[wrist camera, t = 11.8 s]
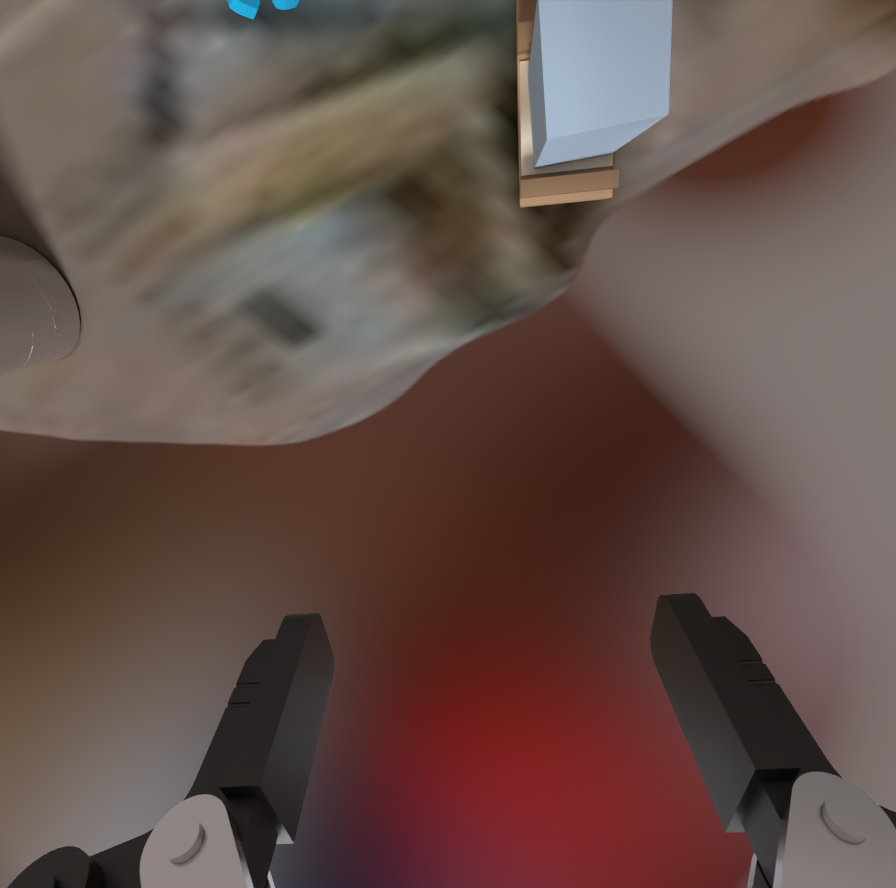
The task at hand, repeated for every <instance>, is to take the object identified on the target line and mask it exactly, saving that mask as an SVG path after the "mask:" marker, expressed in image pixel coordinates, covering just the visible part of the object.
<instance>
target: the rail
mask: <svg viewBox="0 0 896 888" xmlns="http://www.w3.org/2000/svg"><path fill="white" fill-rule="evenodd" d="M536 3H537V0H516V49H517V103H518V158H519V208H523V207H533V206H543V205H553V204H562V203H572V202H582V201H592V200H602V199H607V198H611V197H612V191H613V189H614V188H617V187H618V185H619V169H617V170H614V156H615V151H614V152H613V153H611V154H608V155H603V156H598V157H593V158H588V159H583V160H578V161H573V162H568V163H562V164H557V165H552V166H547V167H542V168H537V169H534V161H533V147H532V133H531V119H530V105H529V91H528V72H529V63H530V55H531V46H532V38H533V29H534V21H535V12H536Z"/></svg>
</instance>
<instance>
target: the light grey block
mask: <svg viewBox="0 0 896 888" xmlns="http://www.w3.org/2000/svg"><path fill="white" fill-rule="evenodd" d="M671 27H672V0H537V3H536V12H535V21H534V29H533V38H532V46H531V55H530V63H529V72H528V91H529V105H530V119H531V133H532V147H533V161H534V169H537V168H542V167H547V166H552V165H557V164H562V163H568V162H573V161H578V160H583V159H588V158H593V157H598V156H603V155H608V154H611V153H613V152H614V151H616V150H617V149H619V148H620V147H622V146H623V145H624V144H626V143H627V142H629V141H630V140H632V139H633V138H635V137H636V136H638V135H639V134H641V133H642V132H643V131H645V130H646V129H648V128H649V127H651V126H652V125H654V124H655V123H657V122H658V121H660V120H661V119H662V118H664V117H665V116H667V115H668V114H669V87H670V57H671Z"/></svg>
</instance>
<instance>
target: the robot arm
mask: <svg viewBox="0 0 896 888" xmlns="http://www.w3.org/2000/svg"><path fill="white" fill-rule="evenodd" d="M79 333H80V319H79V312H78V308H77V305H76V302H75V299H74V297H73V295H72V293H71V291H70V289H69V287H68V285H67V283H66V282H65V281H64V279H63V278H62V276H61V275H60V274H59V272H58V271H57V270H56V269H55V268H54V267H53V266H52V265H51V263H50V262H49V261H48V260H47V259H45V258H44V257H43V256H42V255H40V254H39V253H38V252H37V251H35V250H34V249H32V248H31V247H29V246H27V245H25V244H24V243H22V242H19V241H17V240H14V239H11V238H8V237H1V236H0V377H2V376H6V375H9V374H13V373H16V372H19V371H23V370H26V369H29V368H32V367H36V366H39V365H42V364H45V363H48V362H52V361H55V360H58V359H61V358H63V357H65V356H66V355H68V354H69V353H70V352H71V351H72V350H73V348H74V347H75V346H76V343H77V341H78V338H79ZM650 647H651V653H652V657H653V661H654V664H655V666H656V669H657V671H658V674H659V676H660V678H661V680H662V683H663V685H664V688H665V690H666V693H667V695H668V697H669V700H670V702H671V704H672V707H673V709H674V712H675V714H676V716H677V719H678V721H679V724H680V726H681V728H682V731H683V733H684V735H685V738H686V740H687V742H688V745H689V747H690V750H691V752H692V754H693V757H694V759H695V762H696V764H697V766H698V769H699V771H700V773H701V776H702V778H703V780H704V783H705V785H706V788H707V790H708V792H709V795H710V797H711V799H712V802H713V804H714V807H715V809H716V811H717V814H718V816H719V819H720V821H721V823H722V826H723V828H724V831H725V832H746V835H747V837H748V839H749V841H750V843H751V846H752V848H753V850H754V854H753V857H752V863H751V870H750V875H749V881H748V887H747V888H896V812H894V811H891V810H888V809H886V808H884V807H882V806H880V805H878V804H877V803H876V802H875V801H874V800H873V799H872V798H871V797H870V796H868V795H867V794H866V793H865V792H864V791H862V790H861V789H860V788H858V787H857V786H855V785H853V784H852V783H850V782H849V781H847V780H845V779H843V778H842V777H841V776H840V775H839V774H838V773H837V771H836V770H835V769H834V768H833V767H832V765H831V764H830V763H829V761H828V760H827V759H826V757H825V755H824V754H823V752H822V751H821V749H820V748H819V746H818V745H817V743H816V741H815V740H814V738H813V737H812V735H811V734H810V732H809V731H808V730H807V728H806V726H805V724H804V723H803V721H802V720H801V718H800V717H799V715H798V714H797V712H796V711H795V709H794V707H793V706H792V704H791V703H790V701H789V700H788V699H787V697H786V695H785V694H784V692H783V691H782V689H781V687H780V686H779V684H776V682H775V678H774V677H773V675H772V674H771V672H770V671H769V669H768V668H767V666H766V664H763V662H762V658H761V657H760V655H759V654H758V652H757V650H756V649H755V647H754V646H753V644H752V643H751V641H750V640H749V638H748V637H747V636H746V635H745V634H744V633H743V632H742V631H741V630H740V629H738V628H737V627H736V626H735V625H734V624H733V623H732V622H730V621H729V620H728V619H727V618H726V617H725V616H723V617H711V615H710V614H709V612H708V610H707V609H706V607H705V605H704V604H703V602H702V600H701V599H700V598H699V596H698V595H696V594H695V593H686V594H668V595H660V596H659V597H658V600H657V605H656V610H655V615H654V620H653V625H652V630H651V635H650ZM333 674H334V655H333V650H332V648H331V644H330V642H329V638H328V635H327V632H326V630H325V627H324V624H323V621H322V618H321V616H320V614H319V613H309V614H293V615H287V616H285V618H284V619H283V621H282V623H281V626H280V628H279V631H278V634H277V636H276V639H273V640H272V639H271V640H263V641H262V642H261V643H260V644H259V646H258V647H257V648H256V649H255V650H254V652H253V653H252V654H251V655H250V656H249V658H248V659H247V660H246V662H245V664H244V667H243V669H242V671H241V674H240V676H239V678H238V681H237V683H236V685H237V686H236V688H234V690H233V693H232V695H231V697H230V699H229V702H228V707H227V708H226V709H225V711H224V714H223V716H222V718H221V721H220V723H219V725H218V728H217V730H216V732H215V735H214V737H213V740H212V742H211V744H210V746H209V749H208V751H207V753H206V756H205V758H204V760H203V763H202V765H201V768H200V770H199V772H198V774H197V777H196V779H195V782H194V784H193V786H192V788H191V790H190V791H189V793H188V794H187V796H186V798H185V799H184V800H183V801H182V802H181V803H179V804H178V805H176V806H175V807H174V808H172V809H171V810H170V811H169V812H168V813H167V814H166V815H165V816H164V817H163V818H162V819H161V820H160V822H159V823H158V824H157V826H156V827H155V828H154V829H152V830H151V831H149V832H147V833H145V834H143V835H141V836H139V837H136V838H134V839H131V840H129V841H127V842H124V843H122V844H119V845H117V846H114V847H112V848H110V849H107V850H105V851H102V852H100V853H97V854H95V855H93V856H88V855H87V854H86V853H85V852H84V851H82V850H81V849H80V848H77V847H73V846H72V847H71V846H67V847H62V848H58V849H56V850H53V851H51V852H49V853H47V854H45V855H43V856H42V857H40V858H39V859H37V860H36V861H34V862H33V863H32V864H31V865H29V866H28V867H27V868H26V869H25V870H24V871H22V872H21V873H20V874H19V875H18V876H17V877H16V879H15V880H14V881H13V882H12V883H11V884H10V885H9V886H8V888H275V886H274V883H273V880H272V877H271V873H270V871H269V869H270V865H271V861H272V857H273V853H274V850H275V846H276V844H292V843H294V840H295V836H296V832H297V827H298V823H299V819H300V815H301V811H302V807H303V802H304V798H305V794H306V790H307V786H308V781H309V777H310V773H311V769H312V764H313V760H314V756H315V752H316V748H317V743H318V739H319V735H320V731H321V727H322V722H323V718H324V714H325V710H326V705H327V701H328V697H329V693H330V688H331V684H332V680H333Z"/></svg>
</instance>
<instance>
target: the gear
mask: <svg viewBox="0 0 896 888" xmlns="http://www.w3.org/2000/svg"><path fill="white" fill-rule="evenodd" d="M227 2H228V5H229V7H230V8H231V9H232V10H233V11H235V12H237V13H238V14H240V15H243V16H245V17H248V18H251V19H254V18H255V16H256V13H257V10H258V7H259V4H260V0H227ZM272 2H273V3H274V5H275V6H276V8H277V9H281V10H287V9H291V8H294V7H296V6H297V4H298V2H299V0H272Z"/></svg>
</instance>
